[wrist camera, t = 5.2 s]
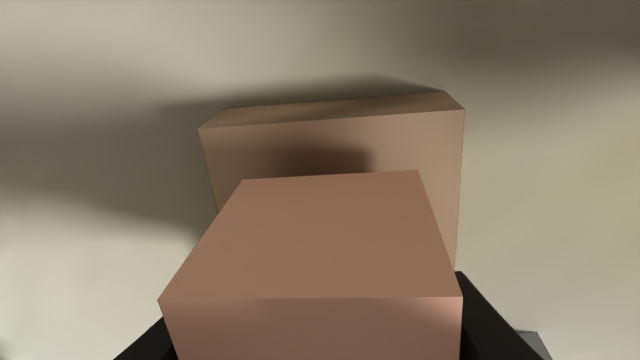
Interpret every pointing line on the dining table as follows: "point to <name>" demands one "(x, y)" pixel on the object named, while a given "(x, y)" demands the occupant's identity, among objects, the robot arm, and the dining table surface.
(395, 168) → the walnut block
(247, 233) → the terracotta cube
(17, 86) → the dining table surface
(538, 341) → the slate-grey cube
